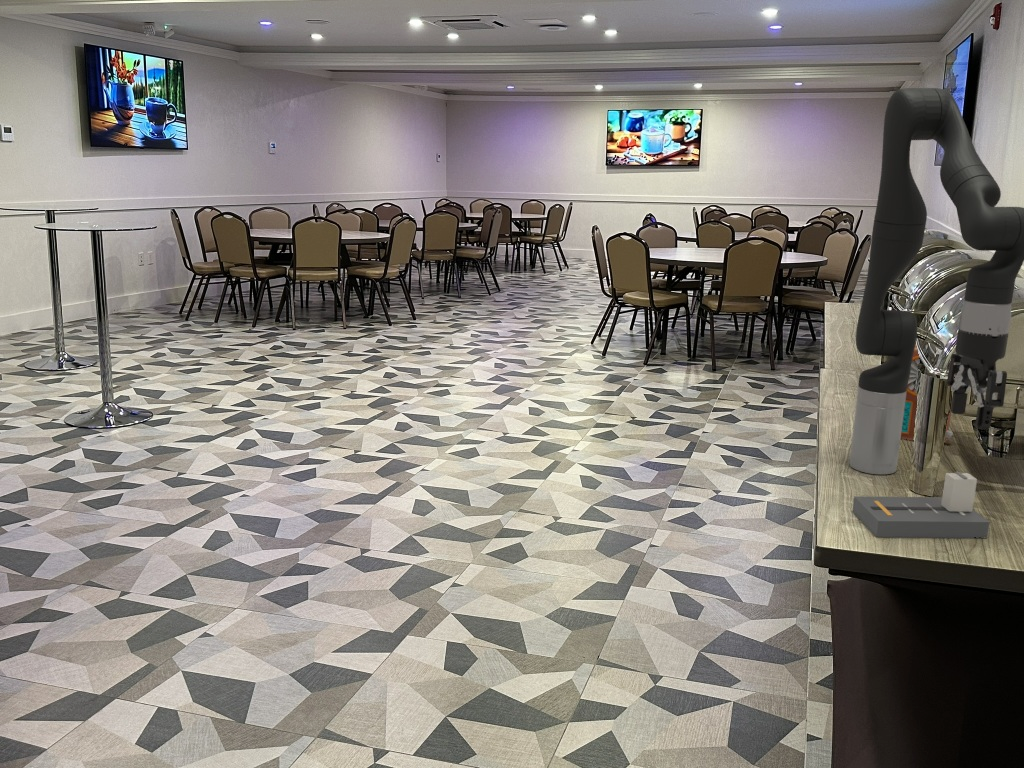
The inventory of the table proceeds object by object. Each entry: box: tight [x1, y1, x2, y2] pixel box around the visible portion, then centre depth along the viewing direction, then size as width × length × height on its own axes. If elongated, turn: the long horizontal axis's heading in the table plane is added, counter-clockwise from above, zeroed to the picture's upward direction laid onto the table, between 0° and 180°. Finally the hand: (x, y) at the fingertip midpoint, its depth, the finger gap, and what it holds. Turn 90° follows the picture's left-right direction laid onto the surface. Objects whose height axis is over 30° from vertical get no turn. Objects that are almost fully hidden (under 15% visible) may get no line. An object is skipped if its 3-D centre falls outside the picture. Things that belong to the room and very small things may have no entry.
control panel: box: [889, 344, 954, 443], centre depth 201 cm, size 21×7×15 cm
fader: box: [941, 471, 978, 512], centre depth 155 cm, size 3×4×6 cm
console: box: [852, 496, 991, 539], centre depth 156 cm, size 11×19×3 cm, turn 90°
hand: (969, 420), depth 152 cm, fingers open, 8 cm apart
